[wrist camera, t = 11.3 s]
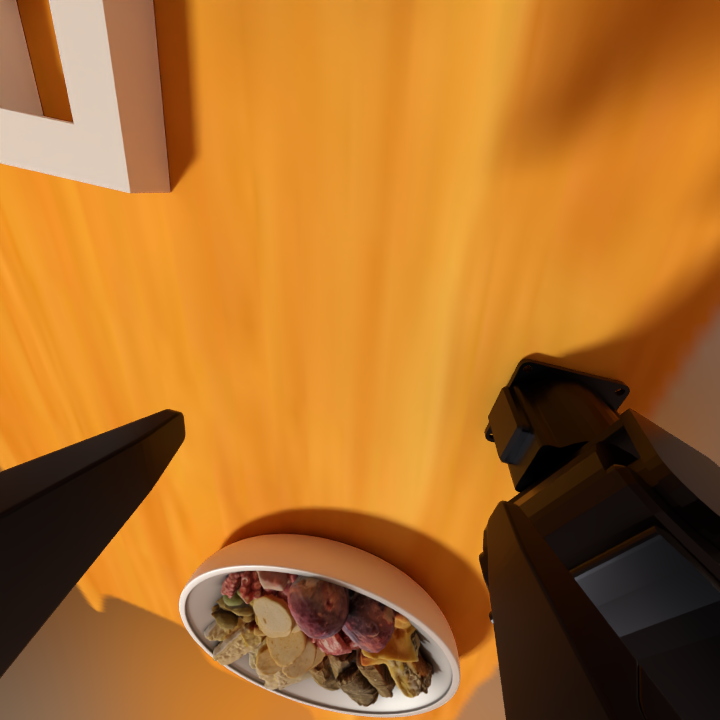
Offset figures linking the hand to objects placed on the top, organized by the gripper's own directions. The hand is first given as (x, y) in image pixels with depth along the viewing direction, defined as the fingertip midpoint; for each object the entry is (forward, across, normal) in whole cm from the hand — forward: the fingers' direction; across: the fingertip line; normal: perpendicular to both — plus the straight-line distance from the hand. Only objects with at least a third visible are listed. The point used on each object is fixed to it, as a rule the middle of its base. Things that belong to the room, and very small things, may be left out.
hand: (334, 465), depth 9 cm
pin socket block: (+13, +19, -9) cm, 25 cm away
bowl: (+13, -1, +37) cm, 39 cm away
